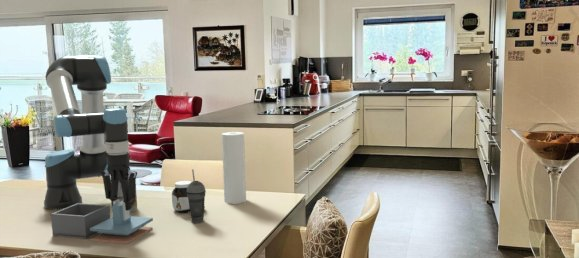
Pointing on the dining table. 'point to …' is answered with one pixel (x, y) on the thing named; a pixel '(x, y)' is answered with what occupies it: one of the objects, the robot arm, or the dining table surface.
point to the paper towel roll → (234, 167)
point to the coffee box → (120, 195)
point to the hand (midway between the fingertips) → (121, 218)
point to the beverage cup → (196, 200)
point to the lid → (120, 223)
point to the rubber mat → (121, 236)
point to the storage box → (79, 220)
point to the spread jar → (181, 197)
